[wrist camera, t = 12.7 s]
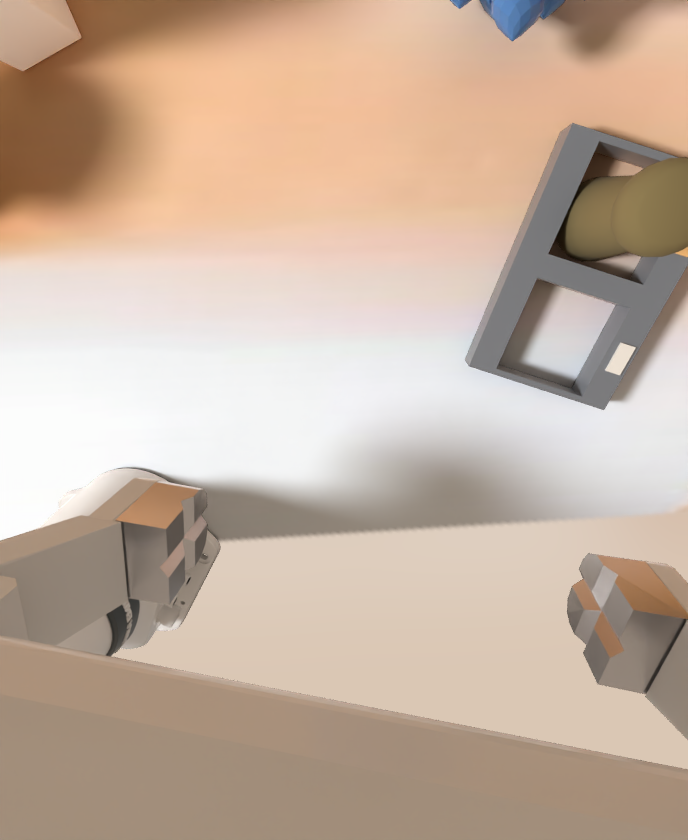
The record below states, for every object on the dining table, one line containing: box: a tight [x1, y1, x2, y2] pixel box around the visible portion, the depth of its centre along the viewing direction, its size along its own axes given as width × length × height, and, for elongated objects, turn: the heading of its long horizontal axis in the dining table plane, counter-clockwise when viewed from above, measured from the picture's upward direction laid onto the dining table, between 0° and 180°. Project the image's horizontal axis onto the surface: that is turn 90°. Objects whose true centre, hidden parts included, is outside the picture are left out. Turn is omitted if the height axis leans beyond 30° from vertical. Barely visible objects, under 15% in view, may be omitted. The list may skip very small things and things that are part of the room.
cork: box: [556, 157, 688, 261], centre depth 28 cm, size 6×6×11 cm
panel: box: [465, 123, 688, 410], centre depth 34 cm, size 18×12×3 cm, turn 163°
